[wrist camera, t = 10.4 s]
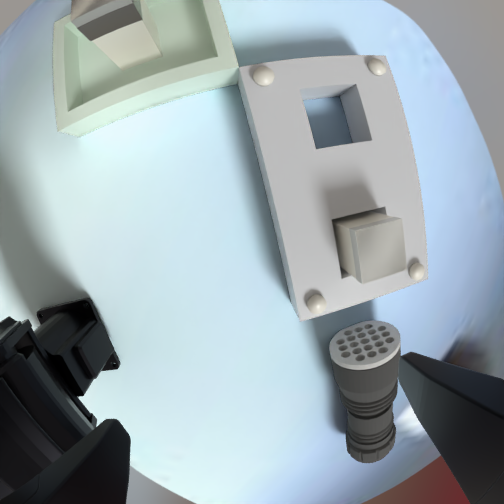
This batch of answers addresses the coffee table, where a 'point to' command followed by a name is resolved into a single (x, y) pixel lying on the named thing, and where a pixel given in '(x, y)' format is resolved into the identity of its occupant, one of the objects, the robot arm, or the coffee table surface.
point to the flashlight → (367, 386)
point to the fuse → (370, 245)
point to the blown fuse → (119, 29)
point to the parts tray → (141, 67)
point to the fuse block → (333, 172)
